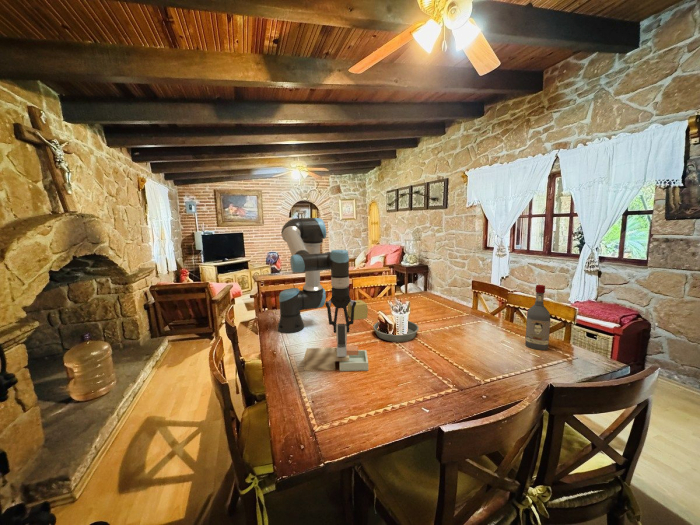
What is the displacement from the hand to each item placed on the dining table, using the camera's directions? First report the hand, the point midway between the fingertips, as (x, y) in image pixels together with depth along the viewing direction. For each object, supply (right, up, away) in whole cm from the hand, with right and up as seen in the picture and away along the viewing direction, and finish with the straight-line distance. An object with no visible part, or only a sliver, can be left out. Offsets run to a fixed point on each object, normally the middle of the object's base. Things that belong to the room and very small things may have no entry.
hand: (341, 339), depth 125 cm
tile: (+5, -6, +1) cm, 7 cm away
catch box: (+5, -11, +2) cm, 12 cm away
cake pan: (+29, -7, +35) cm, 46 cm away
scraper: (0, -5, +1) cm, 5 cm away
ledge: (-6, -12, +2) cm, 13 cm away
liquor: (+94, -8, +15) cm, 96 cm away
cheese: (+8, -3, +64) cm, 65 cm away
